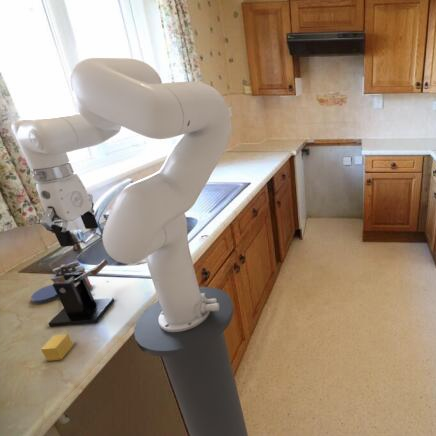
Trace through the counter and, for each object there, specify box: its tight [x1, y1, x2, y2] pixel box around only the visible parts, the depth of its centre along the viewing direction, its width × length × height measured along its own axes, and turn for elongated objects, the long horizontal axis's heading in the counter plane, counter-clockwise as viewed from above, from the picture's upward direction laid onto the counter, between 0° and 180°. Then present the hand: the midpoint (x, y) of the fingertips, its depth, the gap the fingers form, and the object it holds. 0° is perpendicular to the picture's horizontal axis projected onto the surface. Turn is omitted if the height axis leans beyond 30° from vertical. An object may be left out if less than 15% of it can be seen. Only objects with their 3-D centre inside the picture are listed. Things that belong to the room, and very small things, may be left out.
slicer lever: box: [64, 259, 109, 287], centre depth 84 cm, size 12×5×2 cm, turn 93°
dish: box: [30, 284, 59, 305], centre depth 97 cm, size 8×8×1 cm
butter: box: [40, 333, 74, 362], centre depth 76 cm, size 4×3×4 cm
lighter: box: [50, 260, 93, 291], centre depth 96 cm, size 8×3×10 cm, turn 129°
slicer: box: [48, 272, 115, 328], centre depth 87 cm, size 12×9×12 cm
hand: (81, 236), depth 83 cm, fingers open, 9 cm apart
